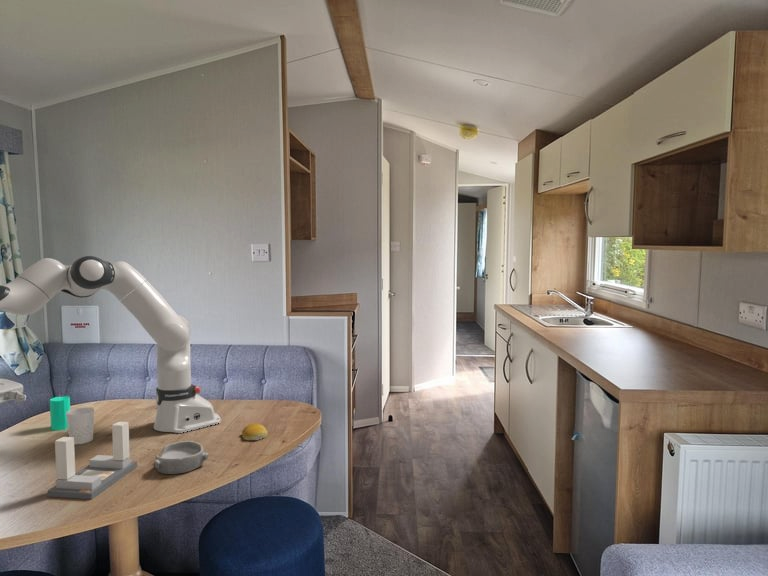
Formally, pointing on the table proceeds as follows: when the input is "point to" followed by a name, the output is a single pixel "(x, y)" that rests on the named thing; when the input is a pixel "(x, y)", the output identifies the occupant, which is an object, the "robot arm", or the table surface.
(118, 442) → the rear knob
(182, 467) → the dish
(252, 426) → the bread roll
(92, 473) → the switch box
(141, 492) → the table surface
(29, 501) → the table surface
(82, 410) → the white cup
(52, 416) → the candle
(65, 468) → the front knob
